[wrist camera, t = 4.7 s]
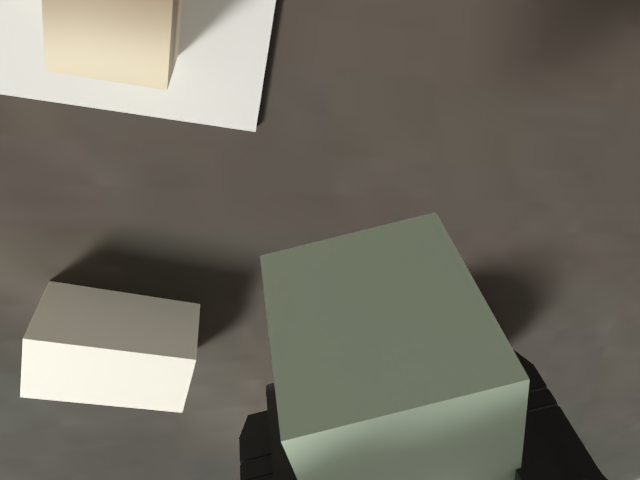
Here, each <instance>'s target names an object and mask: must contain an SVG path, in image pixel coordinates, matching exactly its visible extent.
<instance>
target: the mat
mask: <svg viewBox="0 0 640 480" xmlns="http://www.w3.org/2000/svg"><path fill="white" fill-rule="evenodd" d="M275 4H276V0H182V8H181V22H180V36H179V50H178V58H177V61H176V64H175V67H174V70H173V74H172V77H171V80H170V83H169V86H168V89H167V90H161V89H154V88H148V87H142V86H135V85H129V84H123V83H116V82H110V81H104V80H98V79H91V78H85V77H79V76H72V75H66V74H60V73H53V72H47V71H45V56H44V37H43V18H42V0H0V94H3V95H10V96H16V97H23V98H30V99H37V100H43V101H50V102H57V103H64V104H70V105H77V106H84V107H91V108H98V109H104V110H111V111H118V112H125V113H131V114H138V115H145V116H152V117H158V118H165V119H172V120H179V121H186V122H192V123H199V124H206V125H213V126H219V127H226V128H233V129H240V130H246V131H253V132H256V126H257V119H258V113H259V107H260V100H261V94H262V87H263V81H264V74H265V68H266V62H267V55H268V49H269V42H270V36H271V30H272V23H273V17H274V10H275Z"/></svg>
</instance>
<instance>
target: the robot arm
mask: <svg viewBox="0 0 640 480" xmlns="http://www.w3.org/2000/svg"><path fill="white" fill-rule="evenodd" d="M514 352H515V354H516V356H517V358H518V359H519V361H520V363H521V365H522V366H523V368H524V370H525V372H526V374H527V375H528V377H529V379H530V382H529V392H528V402H527V412H526V423H525V433H524V443H523V453H522V463H521V468H518V469H516V471H515V480H607V479H606V478H605V476H604V475H603V474H602V473H601V472H600V470H599V469H598V467H597V466H596V464H595V463H594V461H593V459H592V458H591V456H590V455H589V453H588V451H587V450H586V448H585V447H584V445H583V443H582V442H581V440H580V439H579V437H578V435H577V434H576V432H575V430H574V429H573V427H572V426H571V424H570V422H569V421H568V419H567V418H566V416H565V414H564V413H563V411H562V410H561V408H560V406H559V407H558V405H557V402H556V400H555V398H554V397H553V395H552V394H551V392H550V390H549V389H547V387H546V384H545V382H544V381H543V379H542V378H541V376H540V374H539V373H538V371H537V370H536V368H535V366H534V365H533V364H532V363H530V362H529V361H528V360H526V359H525V358H524V357H522V356H521V355H520V354H519V353H517V352H516V351H515V350H514ZM266 396H267V408H268V410H267V411H263V412H259V413H255V414H251V415H248V417H247V419H246V422H245V425H244V427H243V430H242V432H241V435H240V438H239V443H240V463H241V466H240V479H241V480H297V478H296V475H295V473H294V471H293V468H292V466H291V464H290V461H289V459H288V457H287V455H286V452H285V450H284V448H283V445H282V443H281V438H280V429H279V421H278V412H277V403H276V394H275V385H274V383H272V384H268V385H267V386H266Z"/></svg>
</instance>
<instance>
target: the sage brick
mask: <svg viewBox="0 0 640 480" xmlns="http://www.w3.org/2000/svg"><path fill="white" fill-rule="evenodd" d="M260 261H261V270H262V279H263V288H264V297H265V305H266V314H267V323H268V332H269V341H270V350H271V359H272V367H273V376H274V385H275V394H276V403H277V412H278V421H279V429H280V438H281V443H282V445H283V448H284V450H285V452H286V455H287V457H288V459H289V461H290V464H291V466H292V468H293V471H294V473H295V475H296V478H297V480H515V471H516V469H518V468H521V463H522V453H523V443H524V433H525V423H526V412H527V402H528V392H529V382H530V379H529V377H528V375H527V374H526V372H525V370H524V368H523V366H522V365H521V363H520V361H519V359H518V358H517V356H516V354H515V352H514V350H513V349H512V347H511V345H510V343H509V342H508V340H507V338H506V336H505V334H504V333H503V331H502V329H501V327H500V326H499V324H498V322H497V320H496V318H495V317H494V315H493V313H492V311H491V310H490V308H489V306H488V304H487V302H486V301H485V299H484V297H483V295H482V293H481V292H480V290H479V288H478V286H477V285H476V283H475V281H474V279H473V277H472V276H471V274H470V272H469V270H468V269H467V267H466V265H465V263H464V261H463V260H462V258H461V256H460V254H459V253H458V251H457V249H456V247H455V245H454V244H453V242H452V240H451V238H450V236H449V235H448V233H447V231H446V229H445V228H444V226H443V224H442V222H441V220H440V219H439V217H438V215H437V213H436V212H435V213H431V214H426V215H422V216H418V217H414V218H410V219H406V220H402V221H398V222H394V223H390V224H386V225H382V226H378V227H374V228H370V229H366V230H362V231H358V232H354V233H350V234H346V235H342V236H338V237H334V238H330V239H326V240H322V241H318V242H313V243H309V244H305V245H301V246H297V247H293V248H289V249H285V250H281V251H277V252H273V253H269V254H265V255H261V256H260Z"/></svg>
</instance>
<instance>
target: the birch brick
mask: <svg viewBox="0 0 640 480" xmlns="http://www.w3.org/2000/svg"><path fill="white" fill-rule="evenodd" d="M181 8H182V0H42V18H43V37H44V56H45V71H47V72H53V73H60V74H66V75H72V76H79V77H85V78H91V79H98V80H104V81H110V82H116V83H123V84H129V85H135V86H142V87H148V88H154V89H161V90H167V89H168V86H169V83H170V80H171V77H172V74H173V70H174V67H175V64H176V61H177V58H178V50H179V36H180V22H181Z"/></svg>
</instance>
